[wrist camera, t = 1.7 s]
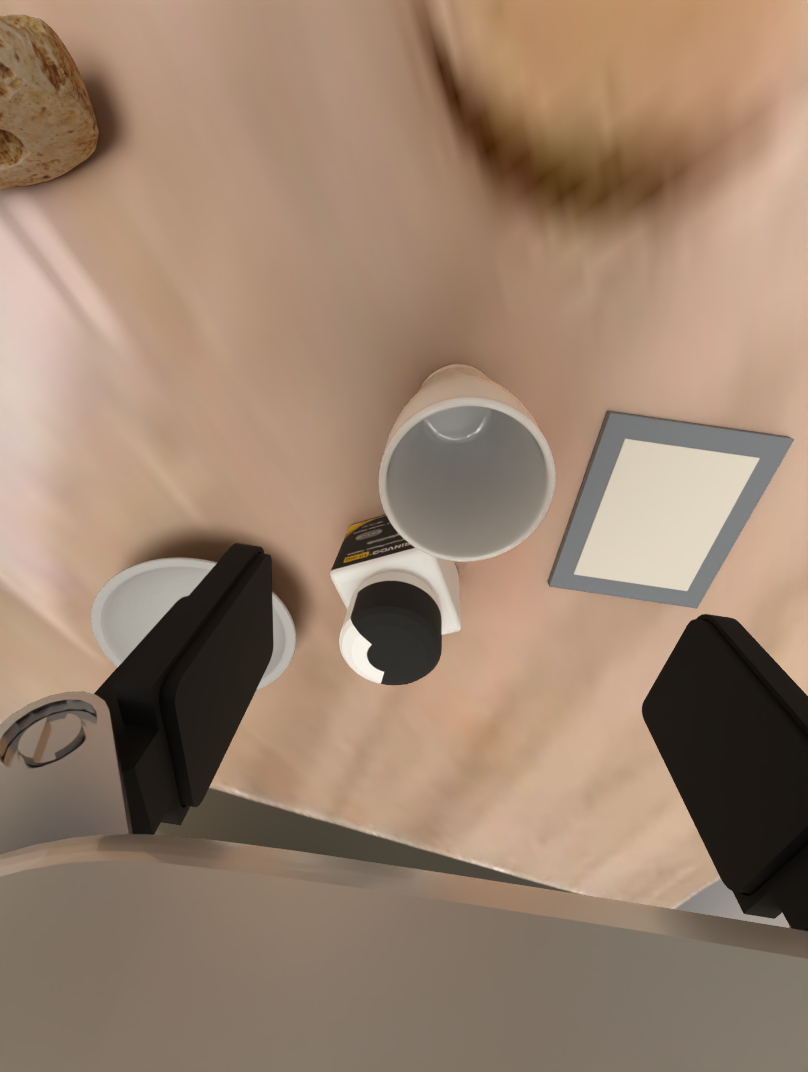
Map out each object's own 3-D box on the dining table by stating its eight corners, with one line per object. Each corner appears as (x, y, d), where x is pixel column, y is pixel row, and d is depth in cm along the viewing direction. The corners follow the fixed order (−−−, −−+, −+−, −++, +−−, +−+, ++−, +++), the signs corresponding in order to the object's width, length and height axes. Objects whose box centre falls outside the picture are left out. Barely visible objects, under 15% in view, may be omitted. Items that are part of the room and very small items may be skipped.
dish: (265, 502, 34) (238, 532, 30) (339, 636, 40) (327, 677, 36) (94, 559, 38) (49, 593, 34) (185, 673, 44) (157, 714, 40)
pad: (607, 410, 29) (610, 413, 28) (787, 436, 29) (795, 439, 28) (547, 582, 35) (549, 586, 35) (693, 603, 35) (697, 608, 35)
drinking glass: (521, 427, 30) (582, 527, 17) (432, 468, 32) (423, 586, 18) (483, 330, 27) (520, 358, 14) (388, 381, 29) (342, 447, 16)
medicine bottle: (433, 499, 33) (428, 593, 22) (459, 574, 36) (466, 688, 25) (348, 524, 34) (306, 622, 24) (380, 594, 37) (355, 708, 27)
